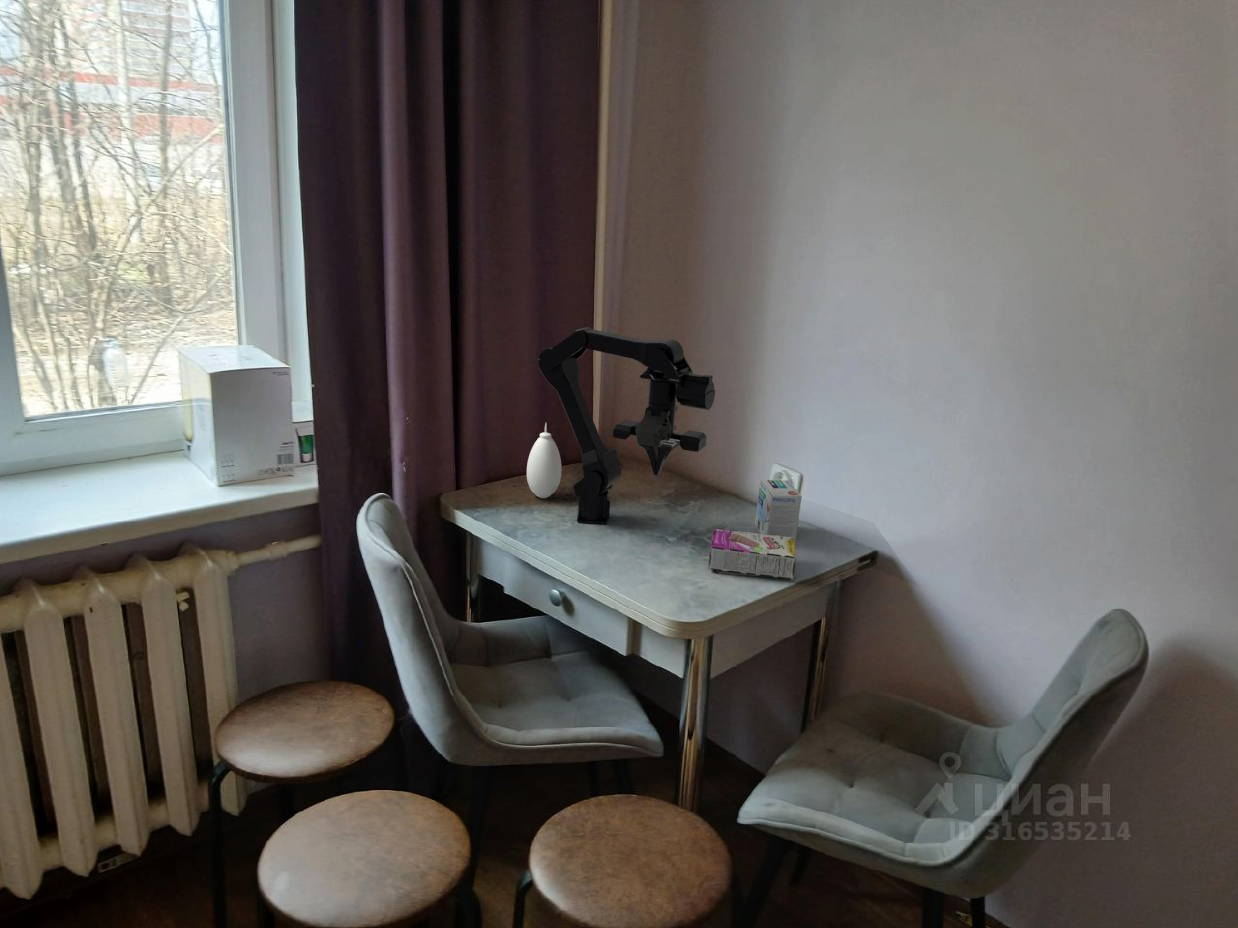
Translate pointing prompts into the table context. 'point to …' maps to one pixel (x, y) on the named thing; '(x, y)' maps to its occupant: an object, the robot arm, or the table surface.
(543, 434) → the white air blower bulb
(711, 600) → the table surface
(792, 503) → the light bulb box
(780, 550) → the candy bar box
